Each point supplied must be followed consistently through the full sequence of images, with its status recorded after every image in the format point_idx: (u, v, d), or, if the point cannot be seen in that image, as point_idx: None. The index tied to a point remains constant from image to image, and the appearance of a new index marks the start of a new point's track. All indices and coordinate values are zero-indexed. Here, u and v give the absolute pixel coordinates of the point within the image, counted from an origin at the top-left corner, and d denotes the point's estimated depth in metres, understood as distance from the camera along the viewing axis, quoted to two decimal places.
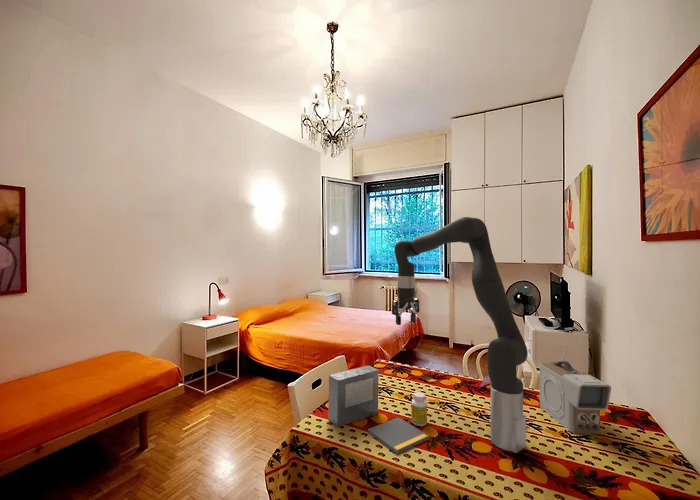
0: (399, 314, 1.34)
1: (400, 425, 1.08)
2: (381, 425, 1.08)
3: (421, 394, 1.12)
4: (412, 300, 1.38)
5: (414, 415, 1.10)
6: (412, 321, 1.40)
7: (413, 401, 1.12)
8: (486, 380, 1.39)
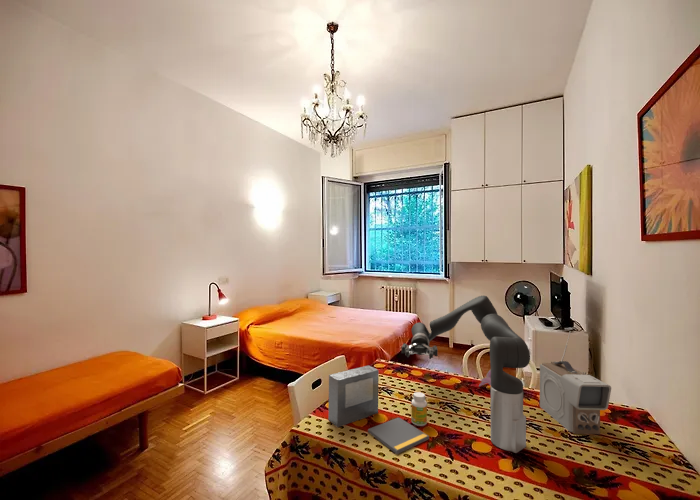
0: None
1: (400, 425, 1.08)
2: (381, 425, 1.08)
3: (421, 394, 1.12)
4: None
5: (414, 415, 1.10)
6: (408, 354, 1.25)
7: (413, 401, 1.12)
8: (484, 380, 1.39)
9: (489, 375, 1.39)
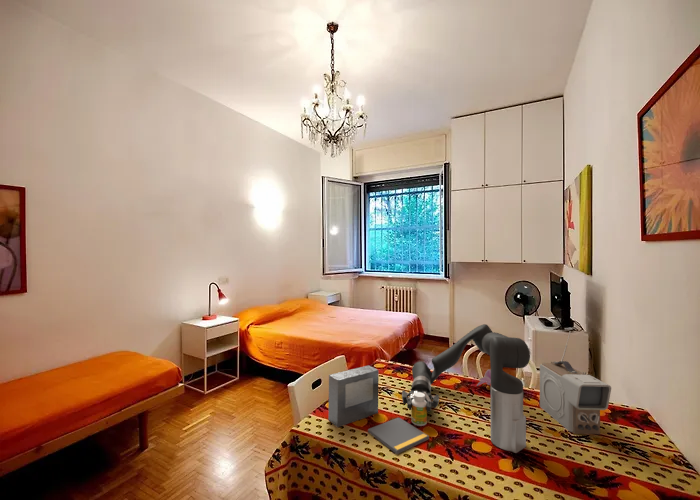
0: None
1: (400, 425, 1.08)
2: (381, 425, 1.08)
3: (421, 394, 1.12)
4: None
5: (414, 415, 1.10)
6: None
7: (413, 401, 1.12)
8: (483, 379, 1.40)
9: (487, 375, 1.39)
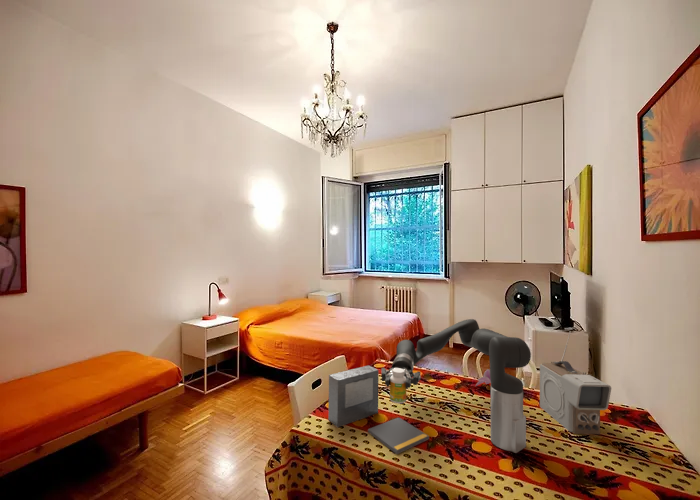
0: None
1: (400, 425, 1.08)
2: (381, 425, 1.08)
3: (400, 370, 1.04)
4: None
5: (392, 391, 1.02)
6: (389, 383, 1.03)
7: (391, 377, 1.03)
8: (481, 379, 1.40)
9: (486, 374, 1.39)
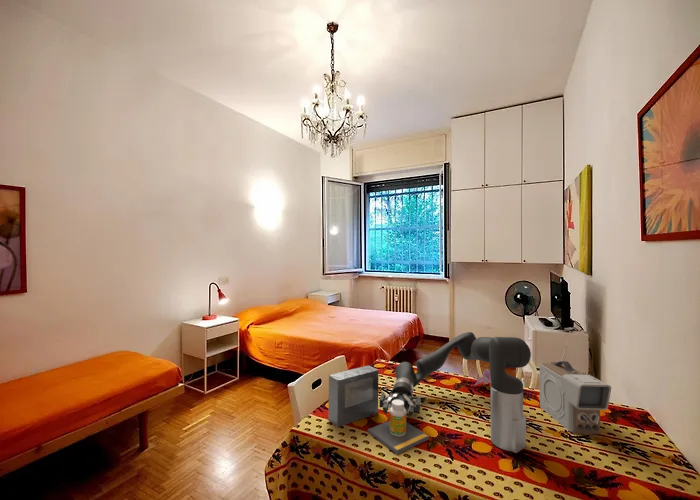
0: None
1: None
2: (381, 425, 1.08)
3: (400, 402, 1.04)
4: None
5: (392, 424, 1.02)
6: (386, 410, 1.03)
7: (391, 409, 1.03)
8: (480, 379, 1.40)
9: (485, 374, 1.40)
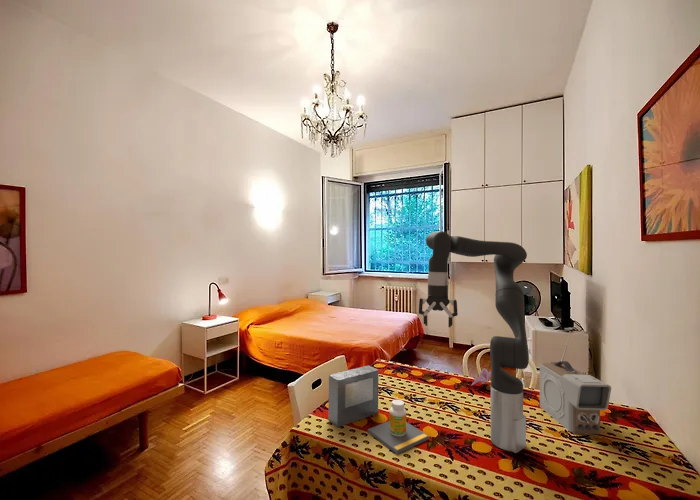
0: None
1: None
2: (381, 425, 1.08)
3: (400, 402, 1.04)
4: None
5: (392, 424, 1.02)
6: None
7: (391, 409, 1.03)
8: (478, 378, 1.41)
9: (482, 374, 1.40)
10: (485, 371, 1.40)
